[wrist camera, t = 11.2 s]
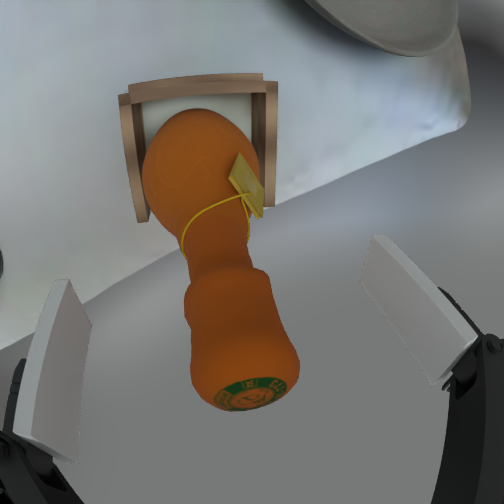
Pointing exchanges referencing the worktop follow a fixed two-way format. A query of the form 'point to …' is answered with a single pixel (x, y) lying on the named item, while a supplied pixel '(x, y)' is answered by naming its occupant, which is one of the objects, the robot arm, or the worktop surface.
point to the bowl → (394, 23)
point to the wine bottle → (220, 259)
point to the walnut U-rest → (206, 97)
